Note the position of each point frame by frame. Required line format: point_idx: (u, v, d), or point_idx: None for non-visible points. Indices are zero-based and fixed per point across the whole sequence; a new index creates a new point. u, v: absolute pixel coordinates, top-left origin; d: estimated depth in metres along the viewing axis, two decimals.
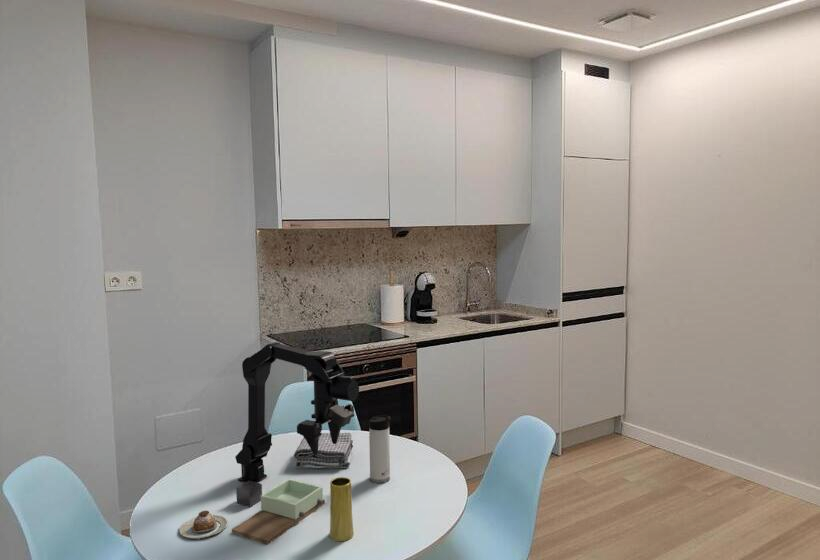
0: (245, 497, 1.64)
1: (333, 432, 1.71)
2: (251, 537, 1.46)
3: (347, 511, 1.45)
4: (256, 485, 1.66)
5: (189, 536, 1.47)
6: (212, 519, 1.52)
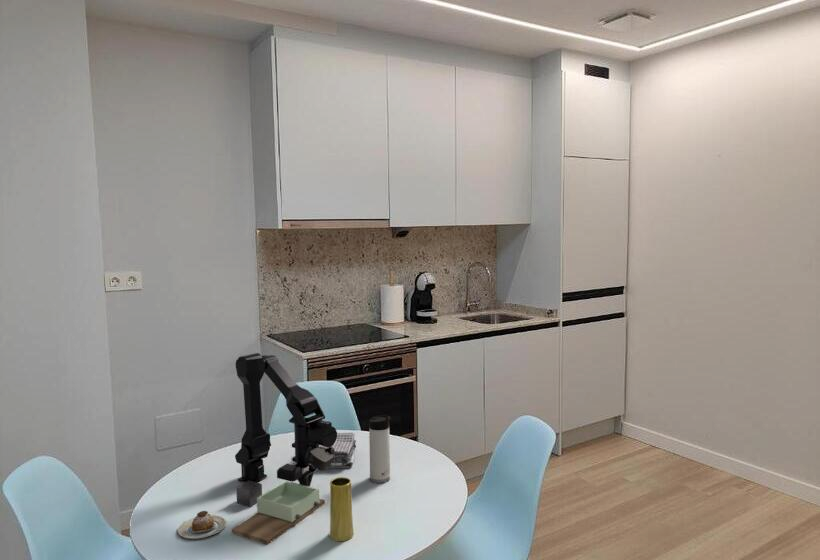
0: (245, 497, 1.64)
1: None
2: (251, 537, 1.46)
3: (347, 511, 1.45)
4: (256, 485, 1.66)
5: (188, 536, 1.47)
6: (211, 519, 1.51)
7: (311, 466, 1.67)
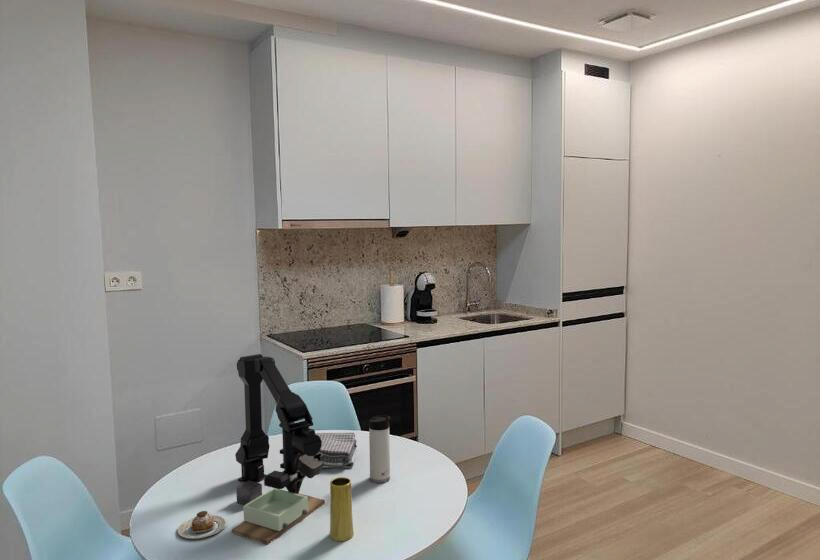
0: (245, 497, 1.64)
1: None
2: (251, 537, 1.46)
3: (347, 511, 1.45)
4: (256, 485, 1.66)
5: (187, 536, 1.47)
6: (210, 519, 1.51)
7: (300, 473, 1.62)
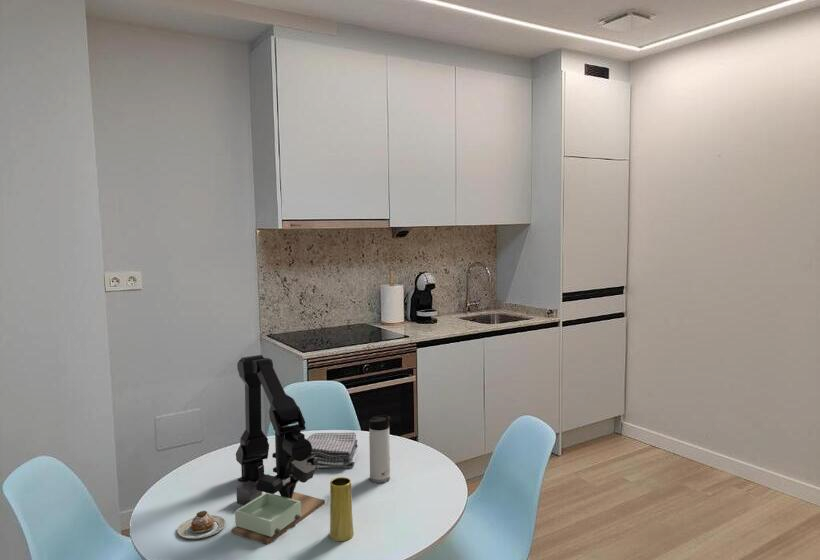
0: (245, 497, 1.64)
1: None
2: (251, 537, 1.46)
3: (347, 511, 1.45)
4: None
5: (187, 536, 1.47)
6: (210, 519, 1.51)
7: (293, 477, 1.59)
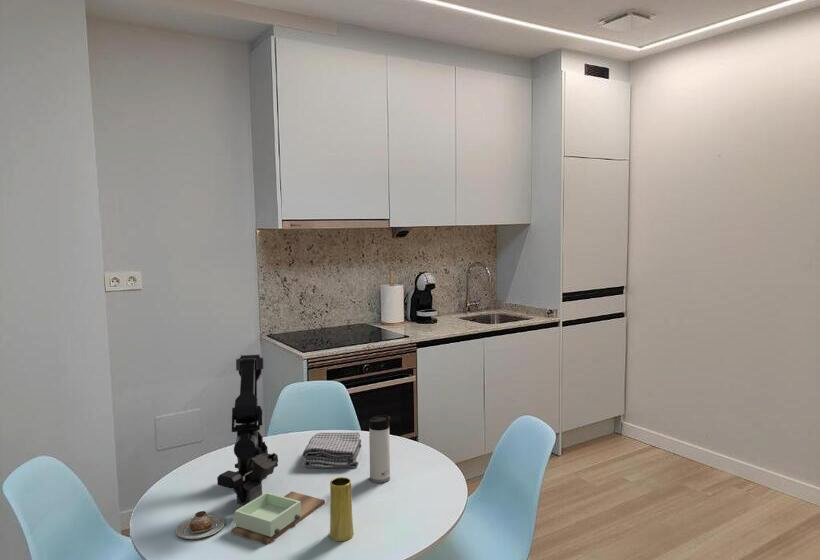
0: (245, 497, 1.64)
1: None
2: (251, 537, 1.46)
3: (347, 511, 1.45)
4: (256, 485, 1.66)
5: (186, 536, 1.47)
6: (209, 519, 1.51)
7: None
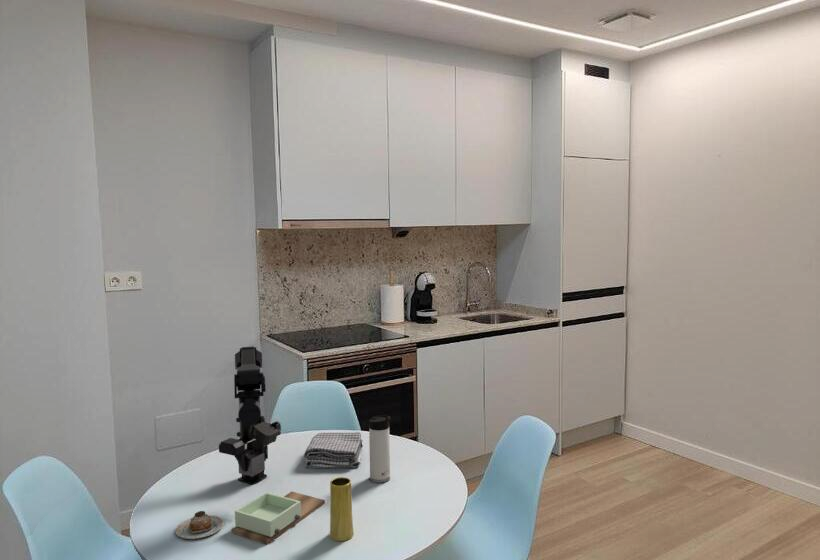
0: (247, 466, 1.60)
1: None
2: (251, 537, 1.46)
3: (347, 511, 1.45)
4: (258, 454, 1.62)
5: (185, 536, 1.47)
6: (208, 519, 1.51)
7: None
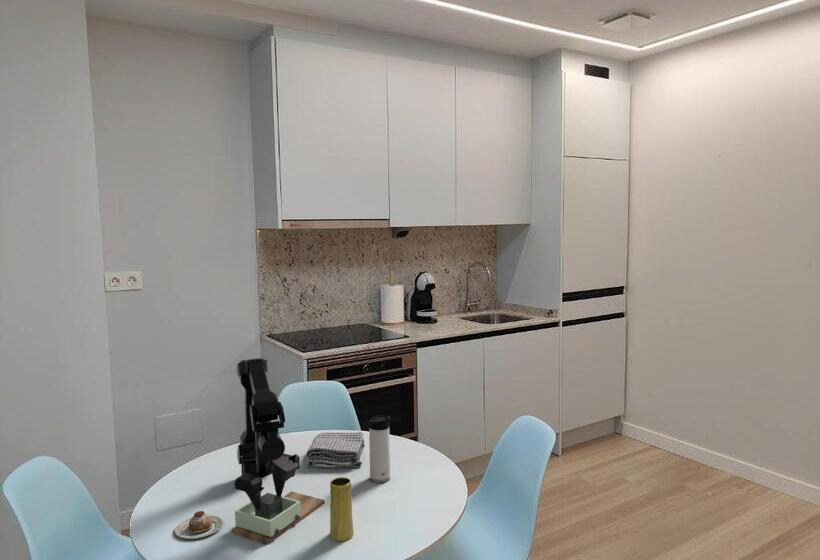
0: (264, 512, 1.50)
1: (277, 484, 1.56)
2: (251, 537, 1.46)
3: (347, 511, 1.45)
4: (276, 498, 1.52)
5: (184, 536, 1.47)
6: (207, 519, 1.51)
7: None
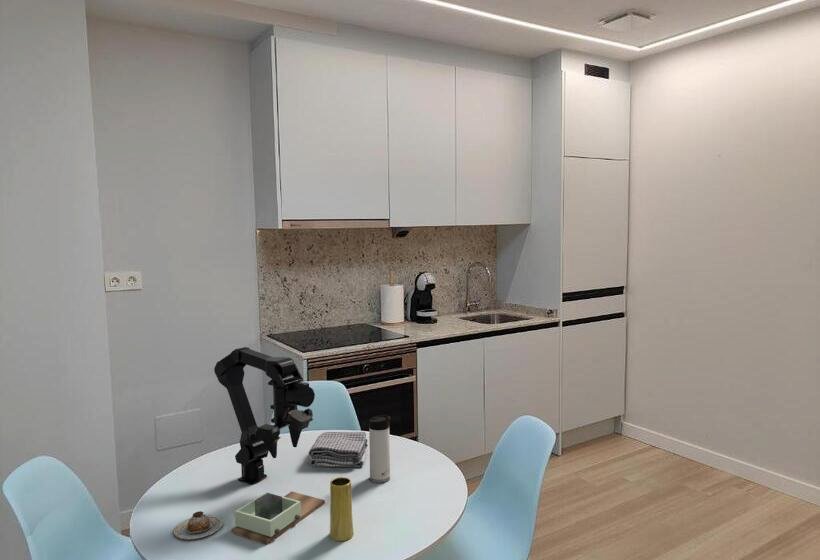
0: (264, 512, 1.50)
1: (293, 436, 1.76)
2: (251, 537, 1.46)
3: (347, 511, 1.45)
4: (276, 498, 1.52)
5: (183, 537, 1.47)
6: (206, 520, 1.51)
7: None
